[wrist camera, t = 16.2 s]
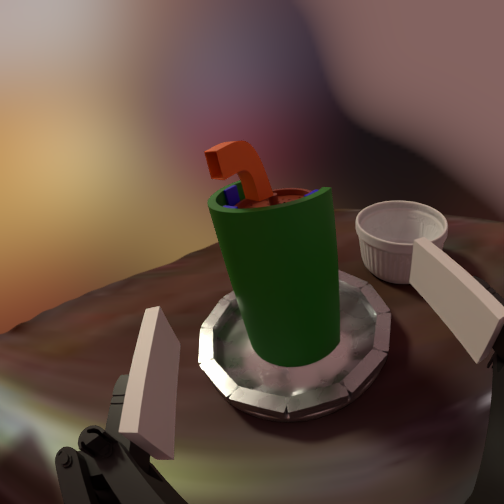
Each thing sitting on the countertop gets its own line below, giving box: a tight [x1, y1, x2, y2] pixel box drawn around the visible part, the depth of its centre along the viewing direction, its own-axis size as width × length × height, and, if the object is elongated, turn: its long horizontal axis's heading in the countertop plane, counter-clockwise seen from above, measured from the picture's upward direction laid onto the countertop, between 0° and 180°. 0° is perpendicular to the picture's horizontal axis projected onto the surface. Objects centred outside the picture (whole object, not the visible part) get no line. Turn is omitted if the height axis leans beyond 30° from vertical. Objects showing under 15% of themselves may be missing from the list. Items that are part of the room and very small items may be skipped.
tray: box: [199, 270, 391, 422], centre depth 28 cm, size 20×20×3 cm
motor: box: [204, 141, 340, 367], centre depth 24 cm, size 10×9×20 cm
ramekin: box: [356, 201, 448, 284], centre depth 34 cm, size 13×13×7 cm
